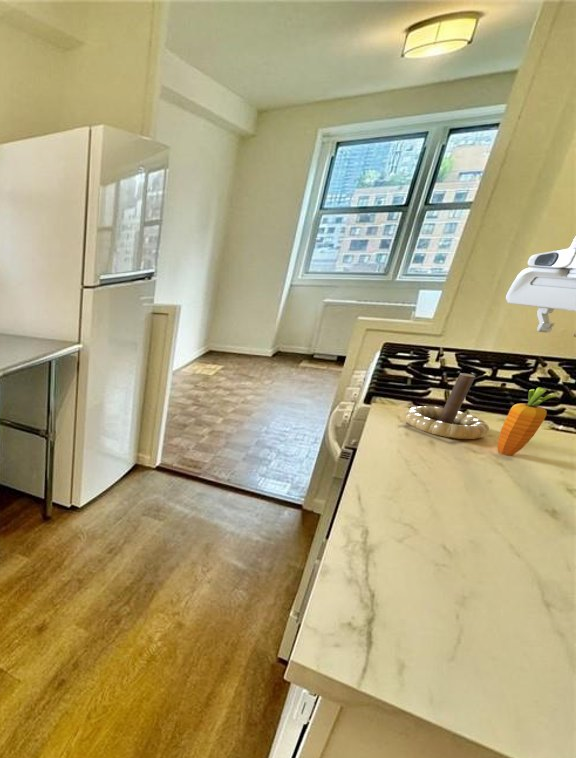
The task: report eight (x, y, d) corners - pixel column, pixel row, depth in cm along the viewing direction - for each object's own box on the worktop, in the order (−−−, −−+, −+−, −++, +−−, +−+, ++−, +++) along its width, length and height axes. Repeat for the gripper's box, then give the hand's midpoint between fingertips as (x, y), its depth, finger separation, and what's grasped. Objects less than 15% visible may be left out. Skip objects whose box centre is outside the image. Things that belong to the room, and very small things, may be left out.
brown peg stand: (476, 439, 103) (508, 379, 97) (449, 445, 101) (480, 383, 95) (429, 423, 111) (456, 367, 105) (403, 428, 108) (428, 370, 102)
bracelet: (500, 436, 101) (506, 423, 100) (458, 445, 97) (464, 432, 96) (427, 413, 113) (432, 401, 112) (387, 420, 109) (392, 408, 108)
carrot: (494, 452, 98) (532, 381, 91) (525, 463, 94) (568, 390, 87) (478, 455, 97) (516, 384, 90) (509, 467, 92) (551, 393, 86)
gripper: (700, 262, 80) (650, 345, 86) (538, 254, 98) (506, 323, 104) (681, 263, 79) (631, 348, 85) (519, 255, 96) (487, 326, 102)
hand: (561, 334), depth 94 cm, fingers open, 4 cm apart
